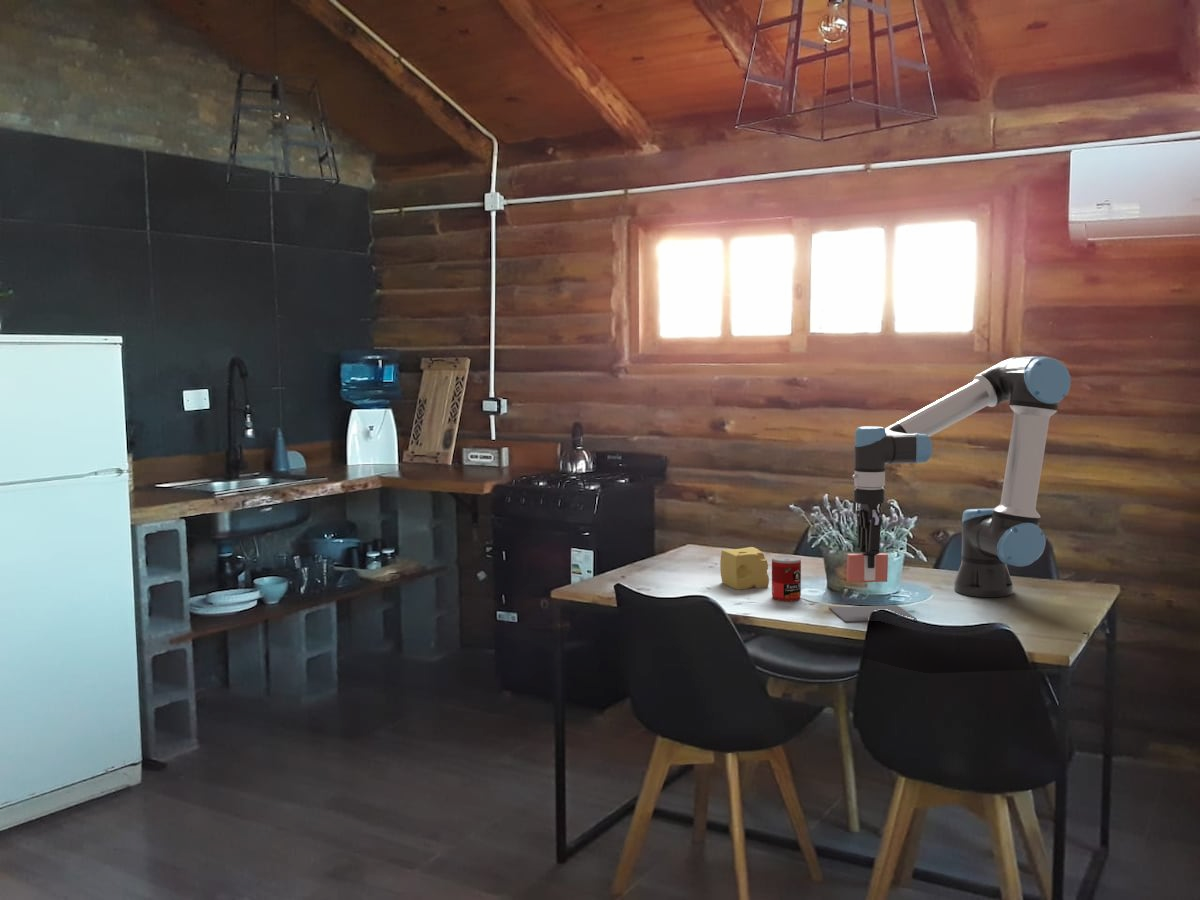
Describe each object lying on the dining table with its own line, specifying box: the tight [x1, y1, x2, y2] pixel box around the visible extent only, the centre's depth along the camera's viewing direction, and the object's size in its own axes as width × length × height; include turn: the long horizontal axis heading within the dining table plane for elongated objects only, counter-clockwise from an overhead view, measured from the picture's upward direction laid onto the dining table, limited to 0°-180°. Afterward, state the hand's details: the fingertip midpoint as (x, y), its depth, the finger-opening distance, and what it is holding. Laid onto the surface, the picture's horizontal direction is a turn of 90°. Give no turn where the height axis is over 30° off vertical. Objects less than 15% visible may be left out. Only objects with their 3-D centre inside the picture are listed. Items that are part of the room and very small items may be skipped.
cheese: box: [719, 546, 770, 591], centre depth 301 cm, size 10×11×10 cm
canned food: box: [771, 554, 802, 602], centre depth 284 cm, size 8×8×11 cm
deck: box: [846, 552, 889, 583], centre depth 268 cm, size 10×2×7 cm, turn 94°
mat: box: [828, 604, 917, 623], centre depth 266 cm, size 18×14×1 cm
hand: (867, 578), depth 268 cm, fingers closed on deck, 2 cm apart
